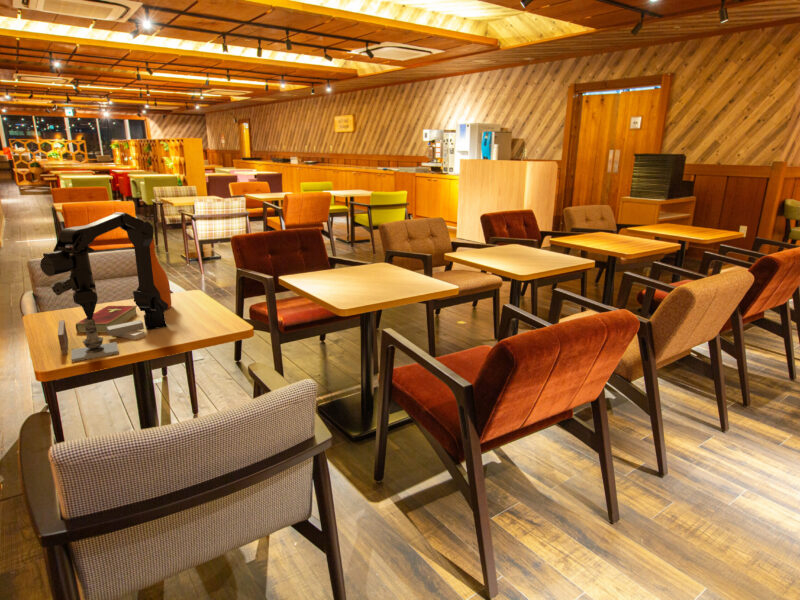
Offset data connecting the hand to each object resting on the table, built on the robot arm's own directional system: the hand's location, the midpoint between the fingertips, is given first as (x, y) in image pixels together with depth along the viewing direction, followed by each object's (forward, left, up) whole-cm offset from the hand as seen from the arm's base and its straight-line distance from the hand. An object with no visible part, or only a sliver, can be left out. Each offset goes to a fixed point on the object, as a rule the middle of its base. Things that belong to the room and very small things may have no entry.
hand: (89, 315), depth 160 cm
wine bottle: (-24, -39, -13) cm, 48 cm away
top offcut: (-10, -11, -11) cm, 18 cm away
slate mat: (0, +1, -13) cm, 13 cm away
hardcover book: (-5, -30, -13) cm, 33 cm away
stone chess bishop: (0, +1, -12) cm, 12 cm away
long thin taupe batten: (+9, -10, -13) cm, 19 cm away
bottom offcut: (-10, -11, -14) cm, 20 cm away
